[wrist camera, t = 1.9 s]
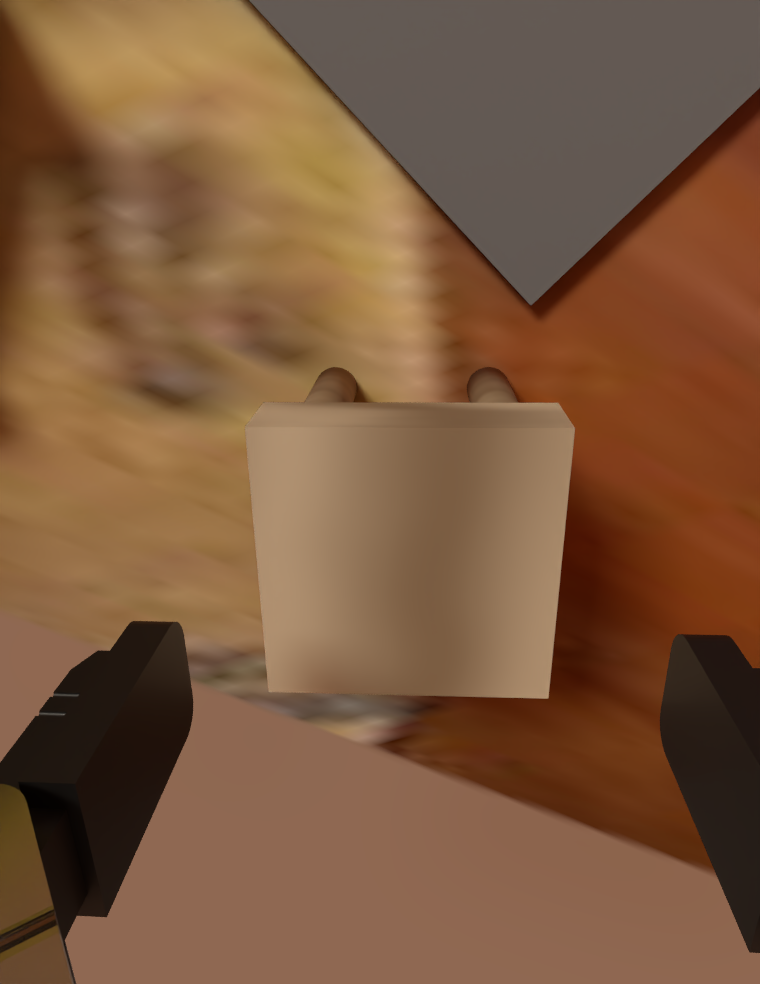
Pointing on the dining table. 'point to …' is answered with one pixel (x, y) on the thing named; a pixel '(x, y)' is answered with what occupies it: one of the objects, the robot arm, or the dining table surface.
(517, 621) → the stool
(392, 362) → the dining table surface
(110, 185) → the dining table surface
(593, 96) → the mat
